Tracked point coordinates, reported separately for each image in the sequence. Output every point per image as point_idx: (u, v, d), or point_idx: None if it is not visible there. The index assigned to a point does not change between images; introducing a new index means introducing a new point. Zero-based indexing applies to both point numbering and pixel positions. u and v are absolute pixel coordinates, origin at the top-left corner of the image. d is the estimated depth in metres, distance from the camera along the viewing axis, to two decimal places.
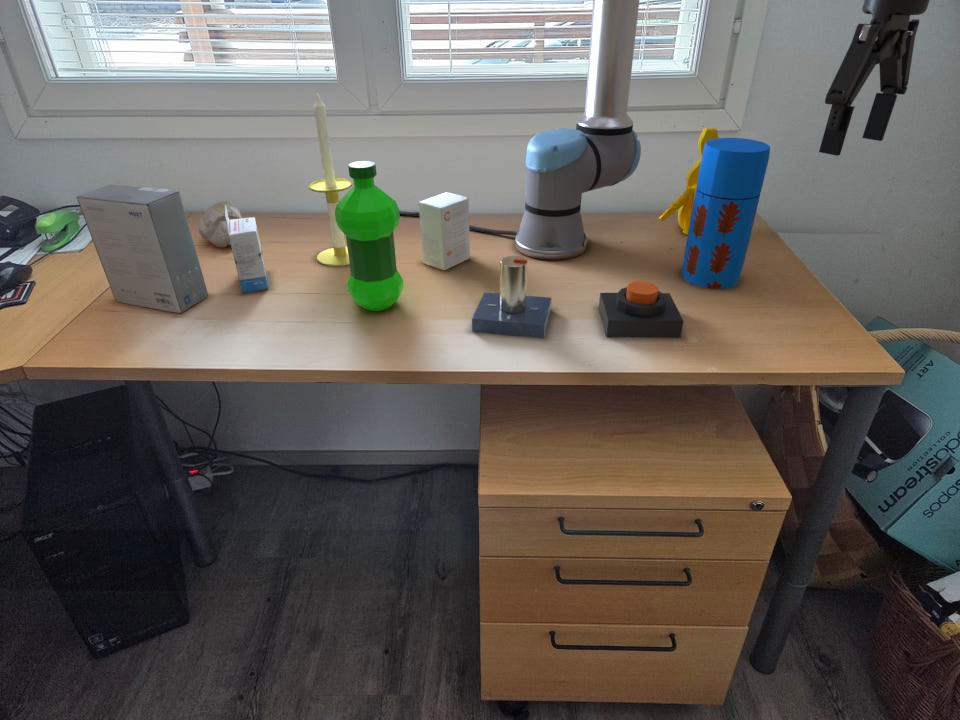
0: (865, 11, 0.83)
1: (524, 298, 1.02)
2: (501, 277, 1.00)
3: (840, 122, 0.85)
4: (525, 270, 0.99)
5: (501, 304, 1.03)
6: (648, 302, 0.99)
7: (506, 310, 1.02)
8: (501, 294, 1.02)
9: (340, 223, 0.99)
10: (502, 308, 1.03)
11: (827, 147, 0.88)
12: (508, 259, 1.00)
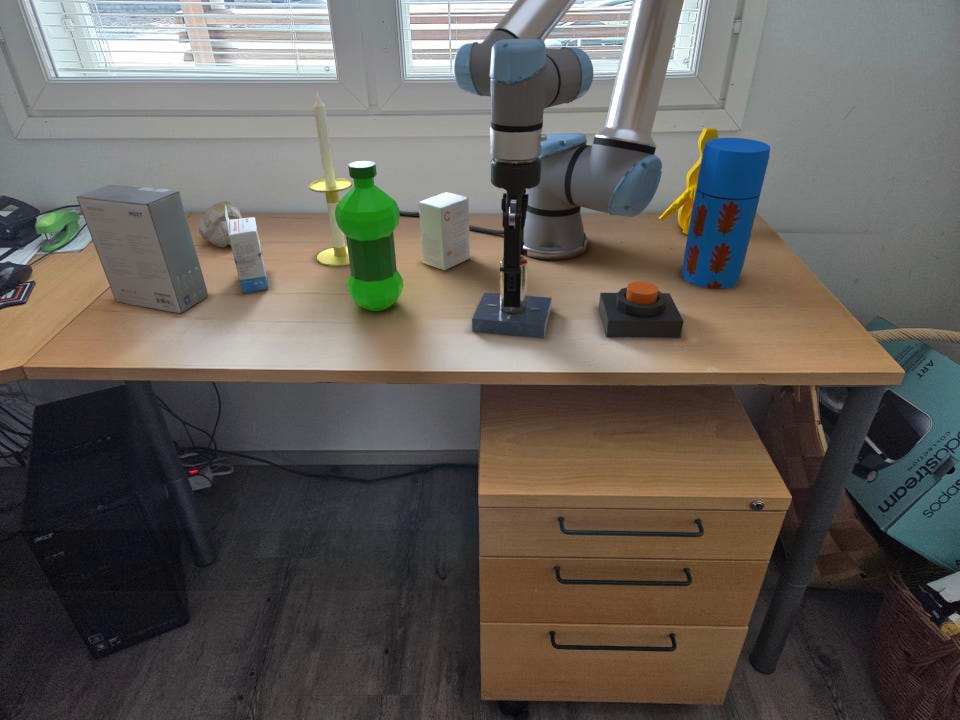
0: (498, 186, 0.90)
1: (524, 298, 1.02)
2: (501, 277, 1.00)
3: (516, 284, 0.97)
4: (525, 270, 0.99)
5: (501, 304, 1.03)
6: (648, 302, 0.99)
7: (506, 310, 1.02)
8: (501, 294, 1.02)
9: (340, 223, 0.99)
10: (502, 308, 1.03)
11: (509, 302, 1.00)
12: None
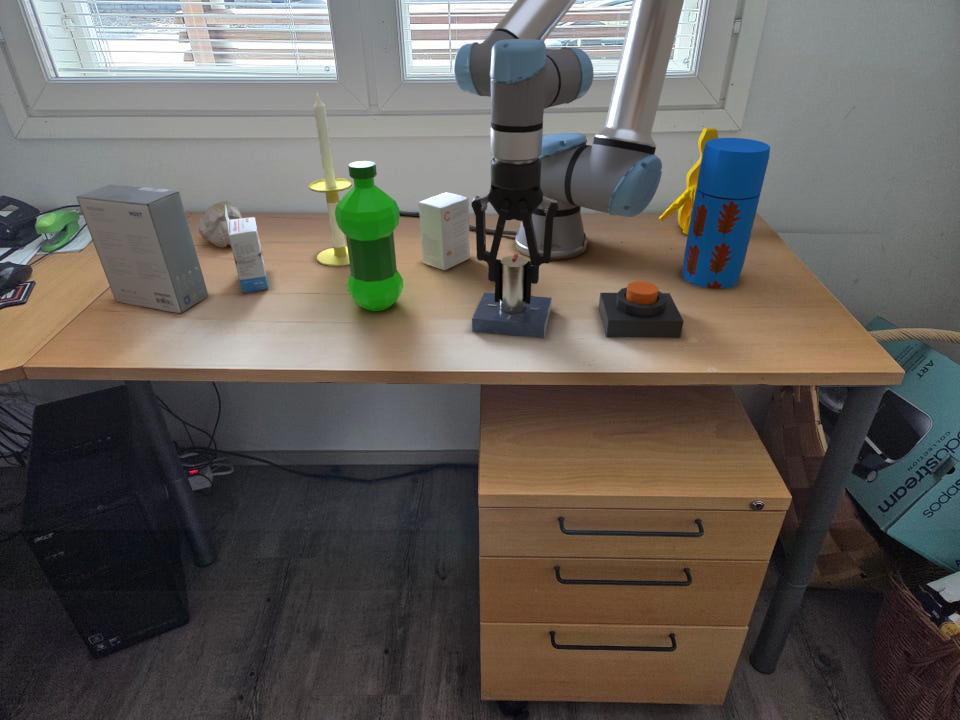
0: (532, 187, 0.90)
1: None
2: (519, 280, 0.99)
3: None
4: None
5: (518, 307, 1.02)
6: (648, 302, 0.99)
7: (524, 308, 1.03)
8: (518, 297, 1.01)
9: (340, 223, 0.99)
10: (520, 309, 1.02)
11: (530, 296, 1.02)
12: (510, 263, 0.99)
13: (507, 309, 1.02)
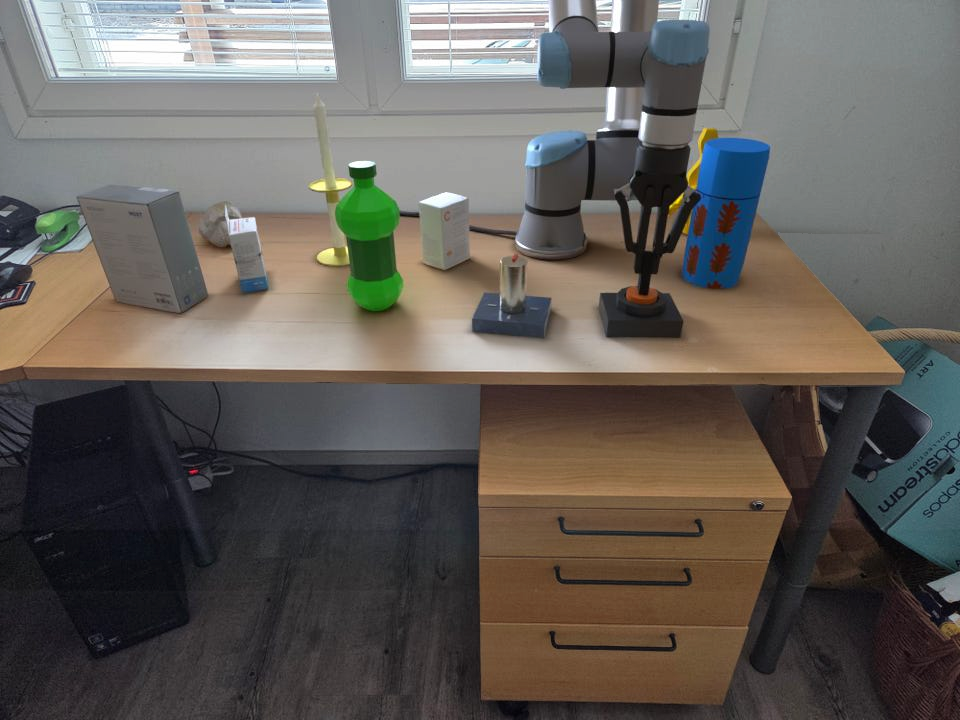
0: (682, 173, 0.88)
1: None
2: (519, 280, 0.99)
3: None
4: None
5: (518, 307, 1.02)
6: None
7: (524, 308, 1.03)
8: (518, 297, 1.01)
9: (340, 223, 0.99)
10: (520, 309, 1.02)
11: None
12: (510, 263, 0.99)
13: (507, 309, 1.02)
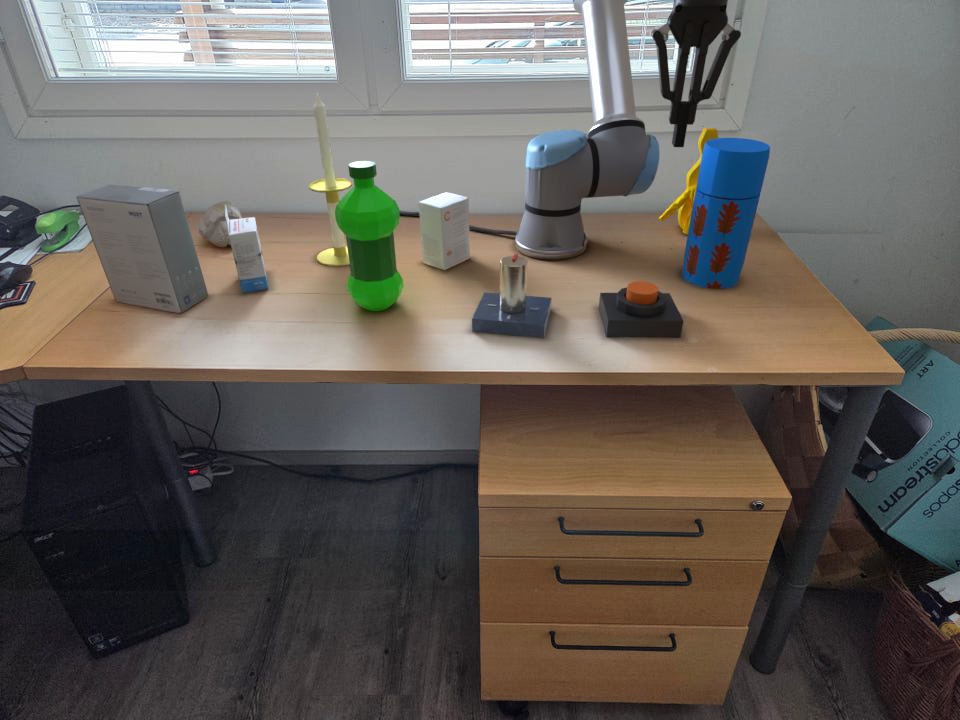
0: (722, 4, 0.87)
1: None
2: (519, 280, 0.99)
3: None
4: None
5: (518, 307, 1.02)
6: (648, 302, 0.99)
7: (524, 308, 1.03)
8: (518, 297, 1.01)
9: (340, 223, 0.99)
10: (520, 309, 1.02)
11: None
12: (510, 263, 0.99)
13: (507, 309, 1.02)
